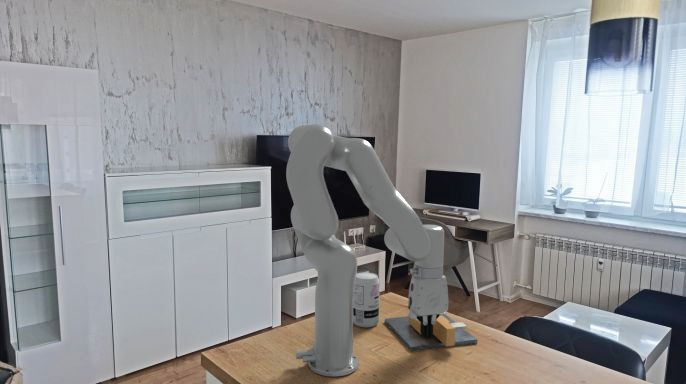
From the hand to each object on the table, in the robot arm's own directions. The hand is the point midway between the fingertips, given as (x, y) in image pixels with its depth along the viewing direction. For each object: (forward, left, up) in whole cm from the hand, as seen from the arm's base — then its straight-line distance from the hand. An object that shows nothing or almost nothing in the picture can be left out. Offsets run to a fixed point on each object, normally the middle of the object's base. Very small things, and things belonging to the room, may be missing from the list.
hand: (426, 336), depth 126 cm
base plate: (+5, +9, -3) cm, 11 cm away
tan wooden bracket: (+5, +5, -2) cm, 7 cm away
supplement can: (-11, +20, -4) cm, 23 cm away
